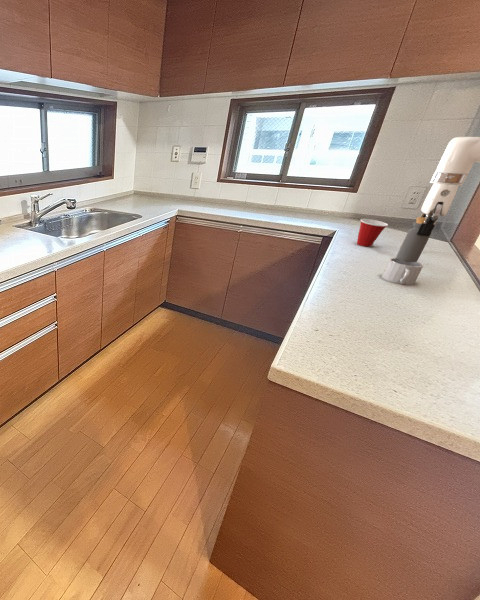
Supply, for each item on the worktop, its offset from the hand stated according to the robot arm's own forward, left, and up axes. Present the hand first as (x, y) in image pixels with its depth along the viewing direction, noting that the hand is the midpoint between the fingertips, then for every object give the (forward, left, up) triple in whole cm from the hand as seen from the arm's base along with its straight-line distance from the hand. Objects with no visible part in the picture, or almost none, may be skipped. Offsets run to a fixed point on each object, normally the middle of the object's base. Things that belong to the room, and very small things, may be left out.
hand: (420, 233), depth 113 cm
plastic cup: (+7, -51, -18) cm, 55 cm away
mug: (0, +2, -18) cm, 18 cm away
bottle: (0, 0, -10) cm, 10 cm away
